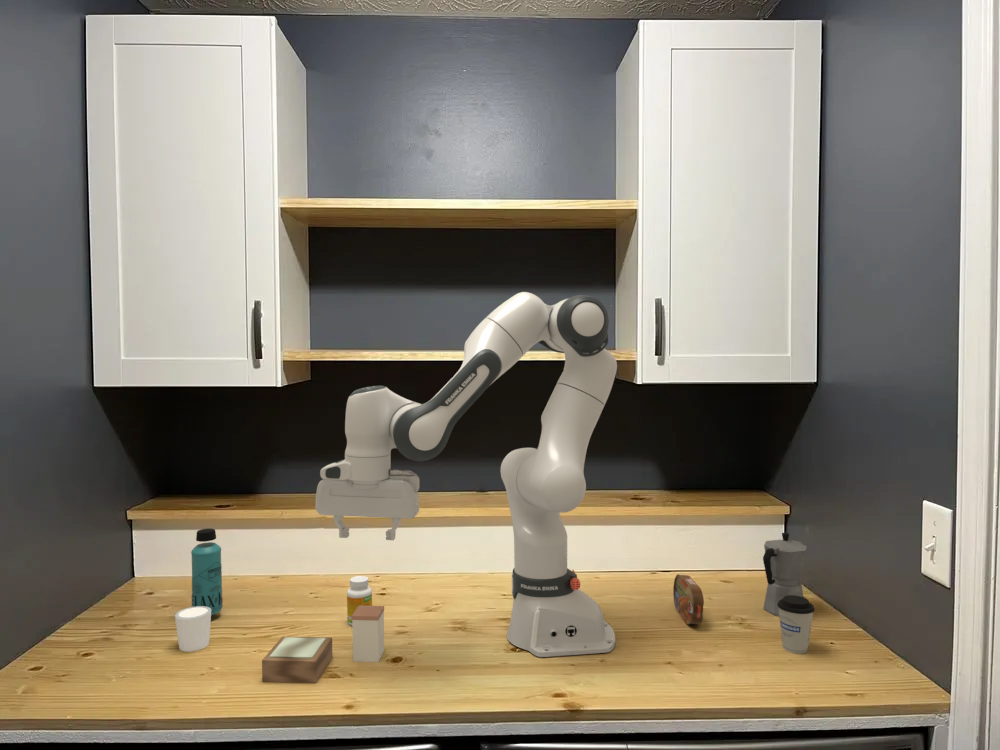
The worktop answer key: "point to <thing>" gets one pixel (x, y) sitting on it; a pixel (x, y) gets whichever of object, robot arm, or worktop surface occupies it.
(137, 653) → the worktop surface
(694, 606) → the tin
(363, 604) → the supplement bottle
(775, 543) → the coffeepot
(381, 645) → the two-tone lidded box
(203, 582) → the beverage bottle
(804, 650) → the coffee cup
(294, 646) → the base
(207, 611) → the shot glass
